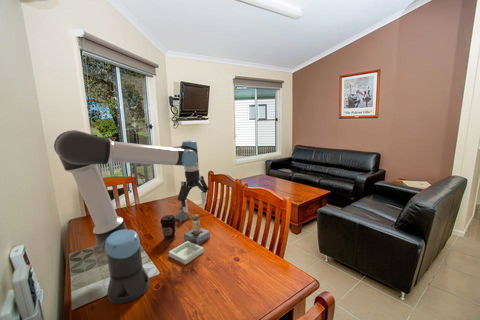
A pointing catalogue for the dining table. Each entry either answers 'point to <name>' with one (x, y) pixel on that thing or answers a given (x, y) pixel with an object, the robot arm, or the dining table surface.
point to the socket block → (199, 238)
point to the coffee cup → (168, 227)
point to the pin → (196, 224)
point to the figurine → (182, 215)
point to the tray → (186, 252)
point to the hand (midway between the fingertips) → (195, 207)
